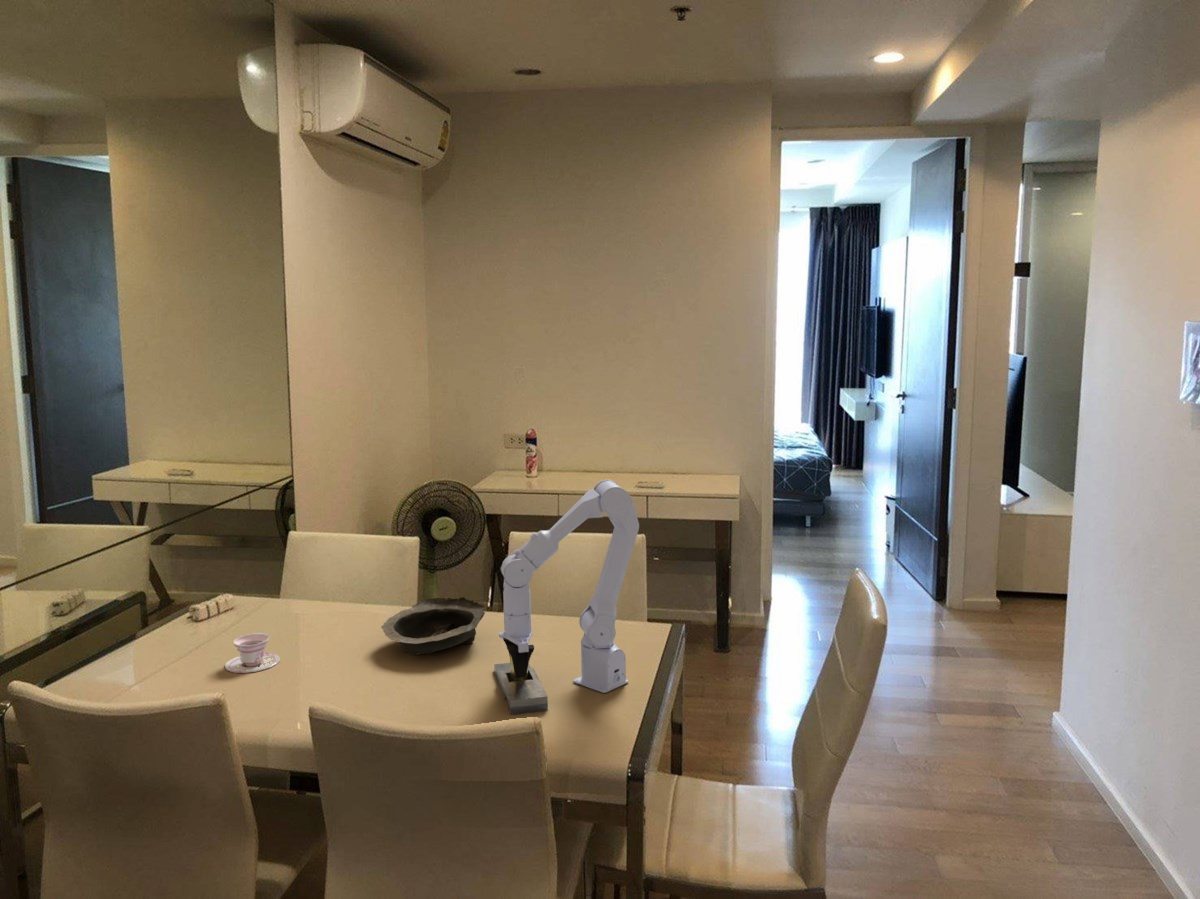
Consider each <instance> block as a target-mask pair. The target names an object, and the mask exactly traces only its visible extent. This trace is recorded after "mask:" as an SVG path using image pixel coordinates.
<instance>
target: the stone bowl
mask: <svg viewBox="0 0 1200 899" xmlns="http://www.w3.org/2000/svg"><path fill="white" fill-rule="evenodd" d="M484 610H486V607H485V606H484V605H482V604H479V603H478V602H474V600H473V599H472V600H469V599H467V598H465V597H459V598H451V597H450V598H449V597H448V598H443V597H434V598H430V597H429V598H426V599H422V600H421V599H420V600H419V601H418V603H416V604H413V605H412V607H410V608H405V609H402V610H400V611H399V612H397V613H395V614H393V616H392V615H391V617H388V619H386V621H385V622H383V625H381V627H380V628H381V629H382V632H383V633H384V636H385V637H387V638H388V639H389V640H391V641H393V642H398V643H399V644H400V646H401V647H402V649H403V650H404V651H406V652H407V653H408V654H410V655H414V656H417V655H422V654H430V653H434V652H438V651H441V650H444V649H449V648H451V647H456V646H457V645H459V644H464V645H469V644H471V643H473V642H475V639H476V635H477V632H476V631H477V629H476V628H477V627H478V625H479V623H480V621H481V620H482V619H483V618H484V616H485V613H486V611H484Z"/></svg>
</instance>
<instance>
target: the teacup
mask: <svg viewBox="0 0 1200 899" xmlns="http://www.w3.org/2000/svg"><path fill="white" fill-rule="evenodd" d="M269 641H270V635H269V634H267V633H264V632H252V633H247V634H244V635H243V634H242V635H241V636H238V637H236V638H235V639H234V640H233V642H232V643H233V645H234V647H236V648H237V651H238V652H239V656H236V657H234V658H231V659H229V660H228V661H227V662H225V665H224V669H225V670H226V671H227V672H231V673H235V674H236V673H237V674H247V673H255V672H256V673H257V672H260V671H265V670H267V669H270V668H273V667H275V666H276V665H277V664H278V663H279V662H280V657H279V655H278V654H276V653H272V652H265V649H266V646H267V643H268V642H269ZM266 657H272V659H271V658H268V659H267V660H266V659H264V658H266ZM273 659H274V662H272V661H271V660H273ZM269 661H271V662H270V664H269V663H267V662H269ZM262 662H263V663H266V664H265V666H264V665H263V663H262ZM243 664H245V666H246V667H245V666H243ZM238 665H239V667H237V666H238ZM259 665H260V667H258V666H259ZM246 670H249V671H246Z"/></svg>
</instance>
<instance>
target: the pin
mask: <svg viewBox="0 0 1200 899" xmlns="http://www.w3.org/2000/svg"><path fill="white" fill-rule="evenodd" d="M509 663H510V668H511V682H515V681H524V680H528V672H527V674H526V677H520V678H516V675H515V672H514V667H513V661H512V658H511V655H510V656H509Z"/></svg>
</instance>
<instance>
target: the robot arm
mask: <svg viewBox="0 0 1200 899" xmlns="http://www.w3.org/2000/svg"><path fill="white" fill-rule="evenodd" d="M602 512H603V513H605V514H606V515H607V517H608V519H609V520H610V522H611V524H612V525H613V527H614V528H613V532H612V533H611V534H612V535H611V539H610V541H609V544H608V549H607V551H606V555H605V558H604V562H603V564H602V568H601V570H600V574H599V577H598V581H597V585H596V589H595V591H594V595H593V596H592V597H591V598H590V599H589V601H588V604H587V607H585V609H584V610H583V612H582V613H581V614H580V616H579V619H578V620H579V622H578V623H579V626H580V628H581V630H582V631H583V636H582V638H581V640H580V656H581V657H580V659H581V660H580V663H581V665H580V666H581V676H579V677H576V678H574V679H572V682H573V683H574V684H576V685H577V684H578V685H580V686H583V687H586V688H588V689H591V690H594V691H597V692H600V693H602V694H605V693H608V692H610V691H612V690H613V691H614V690H615V689H618V688H619V687H621V686H624V685H625V684H628V683H629V680H628V679H626V678H627V677H626V675H627V674H626V673H627V672H626V671H627V669H626V667H627V666H626V654H625V652H624V650H623V649H621V648H620V647H618V646H617V645H616V643H615V638H616V632H617V631H616V625H615V624H616V621H617V602H618V599H619V596H620V593H621V589H622V586H623V582H624V579H625V576H626V572H627V570H628V566H629V562H630V560H631V556H632V553H633V549H634V547H635V544H636V539H637V537H638V533H639V529H640V522H639V520H638V515H637V511H636V509H635V501H634V500H633V498H632V497H631V496H630V494H629V493H628V492H627V491H626V490H625V488H623V487H621V486H620V485H619V484H618V483H617V482H615V481H614V480H612V479H602V480H600V481H598V482H597V483H596V485H595V486H594V487H593V488H590V489H589V490H587V491H586V492H585V494H584V495H583V496H581V498H579V500H577V502H575V504H574V505H572V507H571V508H570V509H569V510H568V511H566V513H565V514H564V515H563V516H561V517H560V518H559V519H558V520H557V522H555V523H554V524H553V526H552V527H551V528H549V529H547V530H543V529H542V530H539V531H538V532H537V533H536V532H534V531H533V532H532V533H531V534H530V535H529V537H530V539H529V540H528V541H527V542H525V543H524V544H523V545H522V546H521V547H520V548H519V549H517V548H516V549H515V550H513V554H510V555H508V556H506V557H505V559H504V560H503V561H502V564H501V566H500V572H501V574H502V577H503V592H502V594H503V596H502V597H503V620H504V622H503V623H504V624H503V625H504V630H503V631H499V632H498V637H499V638H500V639H502V640H503V642H504V644H505V646H506V650H507V651H508V654H509V657H510V655H511V658H512V661H513V667H514V672H515V675H516V678H520V677H526V674H527V669H528V664H529V665H530V663H529V662H530V660H531V656H532V654H533V652H534V651H535V645H534V644H530V640H531V639H532V637H533V630H532V607H531V605H532V604H531V602H532V601H531V598H532V597H531V589H530V582H531V580H532V578H533V572H536V571H537V570H538V569H540V568H541V566H543V565H544V564H545V563H546V562H547V561H548V560H550V558H552V557H553V555H555V554H556V553H557V552H558V551H559V544H560V542H561V541H562V540H563V539H564V538H566V537H567V536H568V535H569V534H571V533H572V532H573V531H574V530H575V529H577V528H578V527H579V526H581V525H582V524H583V523H584V522H585V521H587V520H588V519H596V518H597V519H599V518H600V519H601V518H604V516H603V514H602Z"/></svg>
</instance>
